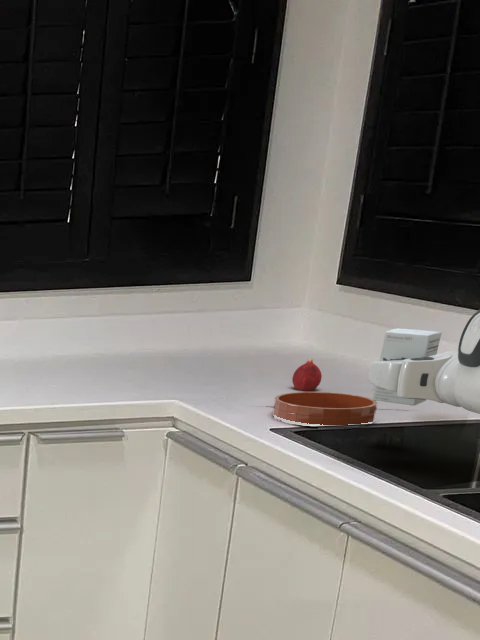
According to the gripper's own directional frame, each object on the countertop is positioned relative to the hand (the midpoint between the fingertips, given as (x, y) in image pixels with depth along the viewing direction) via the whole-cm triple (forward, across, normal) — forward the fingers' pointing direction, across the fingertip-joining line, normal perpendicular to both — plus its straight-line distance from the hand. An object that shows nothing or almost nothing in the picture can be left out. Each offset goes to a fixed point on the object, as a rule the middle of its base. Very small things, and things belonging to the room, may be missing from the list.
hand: (410, 364), depth 210 cm
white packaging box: (+2, 0, +7) cm, 7 cm away
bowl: (+26, +1, +15) cm, 30 cm away
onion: (+53, -7, +15) cm, 55 cm away
